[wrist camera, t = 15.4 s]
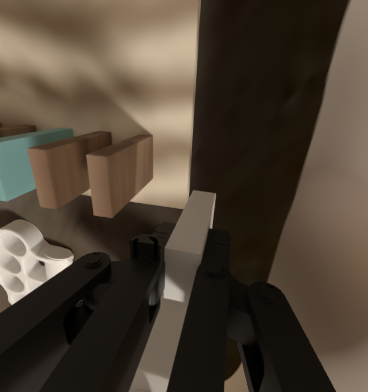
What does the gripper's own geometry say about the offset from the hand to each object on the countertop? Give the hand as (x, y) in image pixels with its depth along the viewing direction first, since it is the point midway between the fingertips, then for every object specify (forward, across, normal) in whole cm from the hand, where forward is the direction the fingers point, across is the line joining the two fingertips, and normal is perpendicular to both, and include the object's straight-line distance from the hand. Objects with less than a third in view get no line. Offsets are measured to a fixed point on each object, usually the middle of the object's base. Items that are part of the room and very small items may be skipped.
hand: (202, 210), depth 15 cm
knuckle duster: (+13, -29, -21) cm, 38 cm away
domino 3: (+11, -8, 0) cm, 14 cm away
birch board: (+12, -18, +7) cm, 23 cm away
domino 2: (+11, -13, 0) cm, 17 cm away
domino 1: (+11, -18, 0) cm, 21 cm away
